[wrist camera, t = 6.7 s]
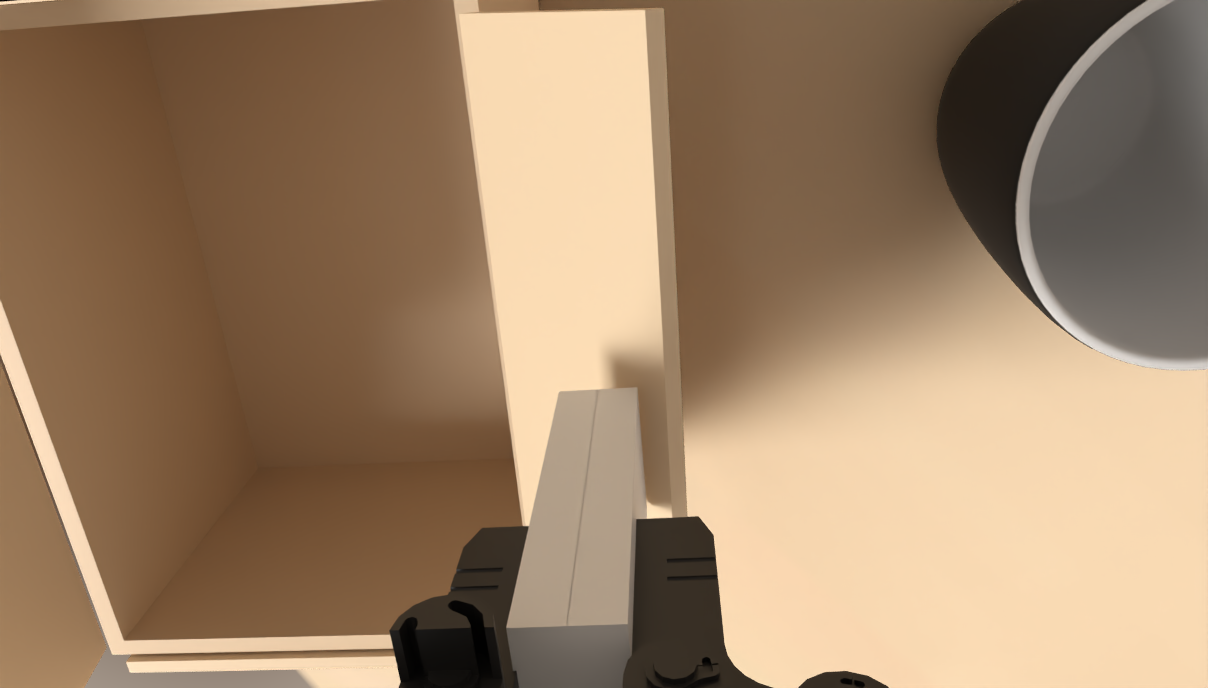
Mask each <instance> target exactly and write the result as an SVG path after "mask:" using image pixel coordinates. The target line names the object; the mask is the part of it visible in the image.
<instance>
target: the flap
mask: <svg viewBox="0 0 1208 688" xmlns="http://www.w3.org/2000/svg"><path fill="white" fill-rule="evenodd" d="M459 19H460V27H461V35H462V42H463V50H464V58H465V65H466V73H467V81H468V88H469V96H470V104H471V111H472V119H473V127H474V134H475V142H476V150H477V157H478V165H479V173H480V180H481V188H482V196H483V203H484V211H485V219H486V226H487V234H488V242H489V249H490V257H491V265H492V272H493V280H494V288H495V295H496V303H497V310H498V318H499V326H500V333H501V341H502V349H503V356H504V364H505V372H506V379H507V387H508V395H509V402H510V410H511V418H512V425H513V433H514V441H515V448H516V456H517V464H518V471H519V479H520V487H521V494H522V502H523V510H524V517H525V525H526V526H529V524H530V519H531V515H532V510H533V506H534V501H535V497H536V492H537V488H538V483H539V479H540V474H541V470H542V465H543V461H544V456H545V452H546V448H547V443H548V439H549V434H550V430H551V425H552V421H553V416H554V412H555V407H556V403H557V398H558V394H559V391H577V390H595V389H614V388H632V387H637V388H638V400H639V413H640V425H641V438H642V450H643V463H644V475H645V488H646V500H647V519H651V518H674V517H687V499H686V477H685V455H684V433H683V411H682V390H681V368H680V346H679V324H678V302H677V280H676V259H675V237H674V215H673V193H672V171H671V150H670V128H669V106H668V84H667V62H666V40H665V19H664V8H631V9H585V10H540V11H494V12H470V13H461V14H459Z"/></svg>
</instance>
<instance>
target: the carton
mask: <svg viewBox="0 0 1208 688" xmlns="http://www.w3.org/2000/svg"><path fill="white" fill-rule="evenodd" d="M0 1H15V0H0ZM494 11H539V2H538V0H55V1H42V2H30V3H18V4H6V5H0V353H1V356H2V359H3V362H4V364H5V367H6V370H7V372H8V375H9V378H10V380H11V383H12V386H13V389H14V391H15V394H16V397H17V399H18V401H19V405H20V407H21V410H22V413H23V415H24V418H25V421H26V424H27V426H28V429H29V431H30V434H31V437H32V439H33V442H34V445H35V448H36V450H37V453H38V456H39V459H40V461H41V464H42V466H43V469H44V472H45V475H46V477H47V480H48V483H49V485H50V488H51V491H52V494H53V496H54V499H55V501H56V504H57V507H58V510H59V512H60V515H61V518H62V520H63V523H64V526H65V528H66V531H67V534H68V536H69V539H70V542H71V545H72V547H73V550H74V552H75V555H76V558H77V561H78V564H79V566H80V569H81V572H82V574H83V577H84V580H85V582H86V585H87V588H88V590H89V593H90V596H91V599H92V601H93V604H94V606H95V609H96V612H97V615H98V617H99V620H100V623H101V626H102V628H103V631H104V634H105V636H106V639H107V642H108V644H109V647H110V649H111V652H112V654H113V655H118V654H119V655H120V654H132V655H131V656H130V657H129V659H128V660H127V661H126V663H127V666H128V669H129V671H130V673H141V672H190V671H236V670H237V671H240V670H290V669H340V668H389V667H397V663H396V658H395V654H394V650H393V645H392V641H391V636H390V632H389V630H390V629H391V627H392V626H393V624H394V623H395V621H396V620H397V618H398V617H399V616H400V615H401V614H403V613H404V612H405V611H407V610H408V609H409V608H411V607H412V606H413V605H415V604H418V603H420V602H422V601H425V600H427V599H430V598H432V597H437V596H444V595H448V593H449V592H450V587H451V584H452V581H453V577H454V574H456V568H457V565H458V562H459V559H460V556H461V553H462V550H463V547H464V546H465V545H466V544H467V543H468V542H469V541H470V540H471V539H472V538H473V537H474V536H475V535H476V534H477V533H478V532H479V531H480V529H481V528H491V527H514V526H526V525H525V517H524V510H523V502H522V494H521V487H520V479H519V471H518V464H517V456H516V448H515V441H514V433H513V425H512V418H511V410H510V402H509V395H508V387H507V379H506V372H505V364H504V356H503V349H502V341H501V333H500V326H499V318H498V310H497V303H496V295H495V288H494V280H493V272H492V265H491V257H490V249H489V242H488V234H487V226H486V219H485V211H484V203H483V196H482V188H481V180H480V173H479V165H478V157H477V150H476V142H475V134H474V127H473V119H472V111H471V104H470V96H469V88H468V81H467V73H466V65H465V58H464V50H463V42H462V35H461V27H460V19H459V14H461V13H470V12H494Z"/></svg>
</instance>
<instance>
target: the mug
mask: <svg viewBox="0 0 1208 688" xmlns="http://www.w3.org/2000/svg"><path fill="white" fill-rule="evenodd" d="M937 146H938V153H939V158H940V162H941V166H942V170H943V173H944V176H945V179H946V181H947V184H948V186H949V189H950V191H951V193H952V195H953V197H954V199H955V201H956V203H957V205H958V207H959V209H960V211H961V212H962V214H963V216H964V217H965V219H966V220H967V222H968V224H969V225H970V227H971V228H972V230H973V231H974V233H975V234H976V236H977V237H978V239H979V240H980V241H981V243H982V244H983V245H984V247H985V248H986V249H987V251H988V252H989V253H990V255H991V256H992V257H993V258H994V260H995V261H996V262H997V263H998V265H999V266H1000V267H1001V268H1002V269H1003V271H1004V272H1005V273H1006V274H1007V275H1008V277H1009V278H1010V279H1011V280H1012V281H1013V282H1014V283H1015V285H1016V286H1017V287H1018V288H1019V289H1020V290H1021V291H1022V292H1023V293H1024V294H1025V295H1026V296H1027V297H1028V298H1029V299H1030V300H1031V301H1032V302H1033V303H1034V304H1035V305H1036V306H1037V307H1038V308H1039V309H1040V310H1041V311H1042V312H1043V313H1044V314H1045V315H1046V316H1047V317H1048V318H1049V319H1051V320H1052V321H1053V322H1054V323H1055V324H1057V325H1058V326H1059V327H1060V328H1062V329H1063V330H1064V331H1066V332H1067V333H1068V334H1070V335H1071V336H1072V337H1074V338H1075V339H1076V340H1078V341H1080V342H1081V343H1083V344H1085V345H1086V346H1088V347H1090V348H1092V349H1094V350H1096V351H1098V352H1100V353H1103V354H1105V355H1107V356H1109V357H1111V358H1114V359H1117V360H1120V361H1123V362H1126V363H1130V364H1134V365H1138V366H1143V367H1148V368H1155V369H1163V370H1183V371H1184V370H1205V369H1208V0H1022V1H1020V2H1019V3H1017V4H1015V5H1014V6H1012V7H1010V8H1009V9H1007V10H1006V11H1004V12H1003V13H1002V14H1000V15H999V16H997V17H996V18H995V19H994V20H992V21H991V22H990V23H989V24H988V25H987V26H985V27H984V28H983V29H982V31H981V32H980V33H979V34H978V35H977V36H976V37H975V38H974V39H973V40H972V41H971V42H970V44H969V45H968V46H967V47H966V49H965V50H964V51H963V53H962V54H961V56H960V57H959V59H958V60H957V62H956V64H955V65H954V67H953V69H952V71H951V73H950V75H949V77H948V79H947V82H946V84H945V87H944V90H943V93H942V97H941V100H940V104H939V110H938V116H937Z"/></svg>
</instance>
